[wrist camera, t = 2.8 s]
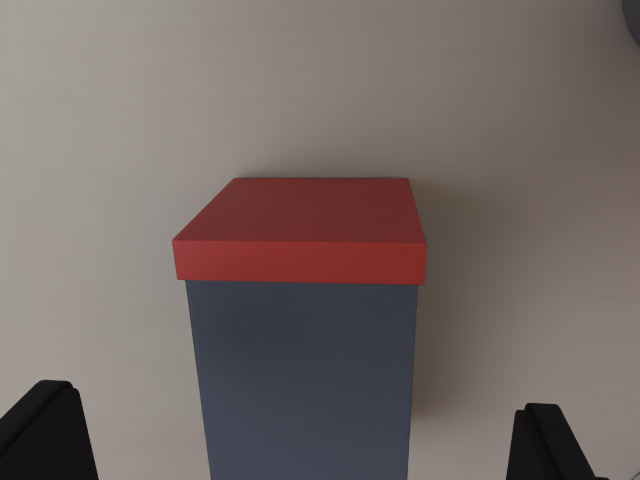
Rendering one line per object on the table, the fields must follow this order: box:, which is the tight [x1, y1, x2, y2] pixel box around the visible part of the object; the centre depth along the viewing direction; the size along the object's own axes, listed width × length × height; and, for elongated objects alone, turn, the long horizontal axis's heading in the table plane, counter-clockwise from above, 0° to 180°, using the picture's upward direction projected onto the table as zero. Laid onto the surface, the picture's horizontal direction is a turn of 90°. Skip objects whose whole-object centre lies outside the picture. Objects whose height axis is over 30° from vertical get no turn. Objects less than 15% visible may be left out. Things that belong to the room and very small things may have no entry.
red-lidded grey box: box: [172, 178, 427, 480], centre depth 18 cm, size 12×7×7 cm, turn 2°
